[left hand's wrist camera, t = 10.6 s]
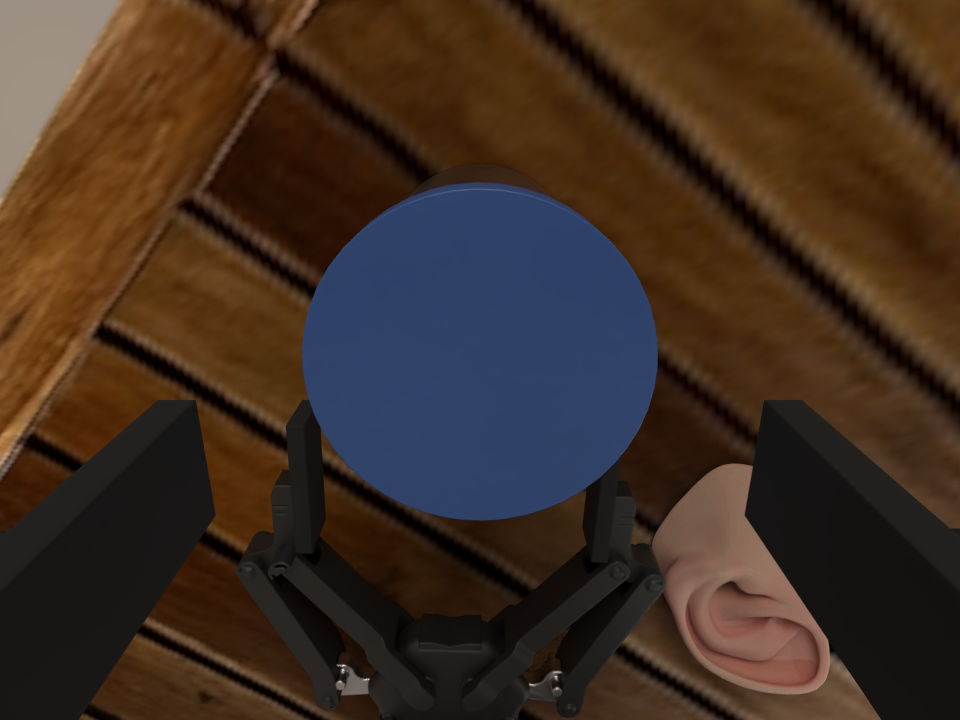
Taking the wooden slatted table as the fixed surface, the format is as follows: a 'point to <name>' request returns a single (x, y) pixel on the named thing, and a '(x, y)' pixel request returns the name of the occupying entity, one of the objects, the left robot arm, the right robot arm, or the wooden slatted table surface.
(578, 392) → the lid
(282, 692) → the wooden slatted table surface
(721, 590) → the anatomical model
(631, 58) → the wooden slatted table surface
